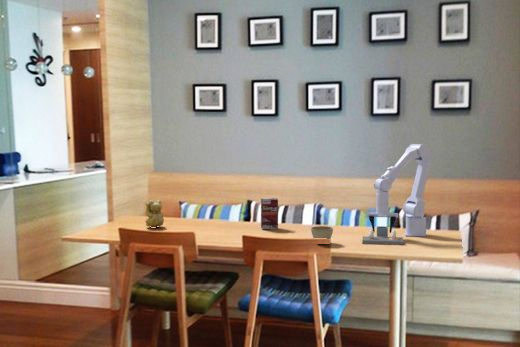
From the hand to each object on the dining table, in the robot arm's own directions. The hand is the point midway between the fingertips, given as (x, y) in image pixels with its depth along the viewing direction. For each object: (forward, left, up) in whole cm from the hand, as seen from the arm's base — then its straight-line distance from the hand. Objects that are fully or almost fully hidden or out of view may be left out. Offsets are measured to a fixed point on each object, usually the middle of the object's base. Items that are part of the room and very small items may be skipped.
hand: (382, 232), depth 264 cm
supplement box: (+57, -15, -3) cm, 59 cm away
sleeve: (0, 0, -3) cm, 3 cm away
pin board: (0, +10, -3) cm, 10 cm away
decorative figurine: (+118, -10, -3) cm, 118 cm away
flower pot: (+27, +17, -3) cm, 32 cm away
